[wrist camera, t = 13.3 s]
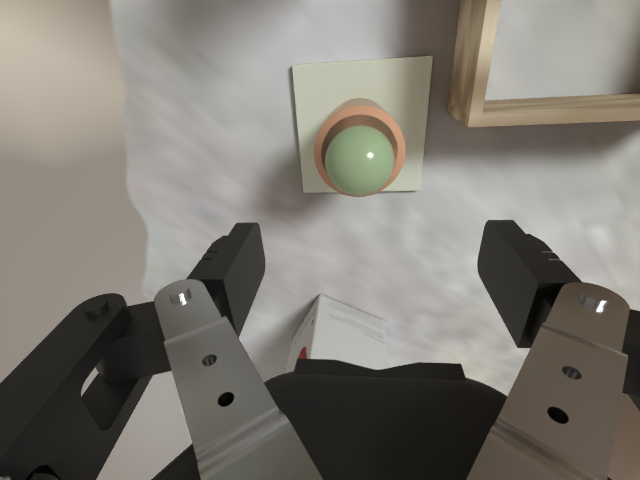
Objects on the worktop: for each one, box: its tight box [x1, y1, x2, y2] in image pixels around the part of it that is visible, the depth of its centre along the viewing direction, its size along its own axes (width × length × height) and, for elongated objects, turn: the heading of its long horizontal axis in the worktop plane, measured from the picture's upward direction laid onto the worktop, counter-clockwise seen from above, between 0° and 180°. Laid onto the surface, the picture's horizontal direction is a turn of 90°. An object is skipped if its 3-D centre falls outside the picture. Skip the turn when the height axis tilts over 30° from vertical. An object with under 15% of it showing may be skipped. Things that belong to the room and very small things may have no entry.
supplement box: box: [284, 294, 389, 374], centre depth 35 cm, size 9×9×15 cm
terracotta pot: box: [314, 98, 405, 197], centre depth 24 cm, size 6×6×11 cm
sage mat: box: [292, 56, 433, 193], centre depth 29 cm, size 11×11×1 cm
